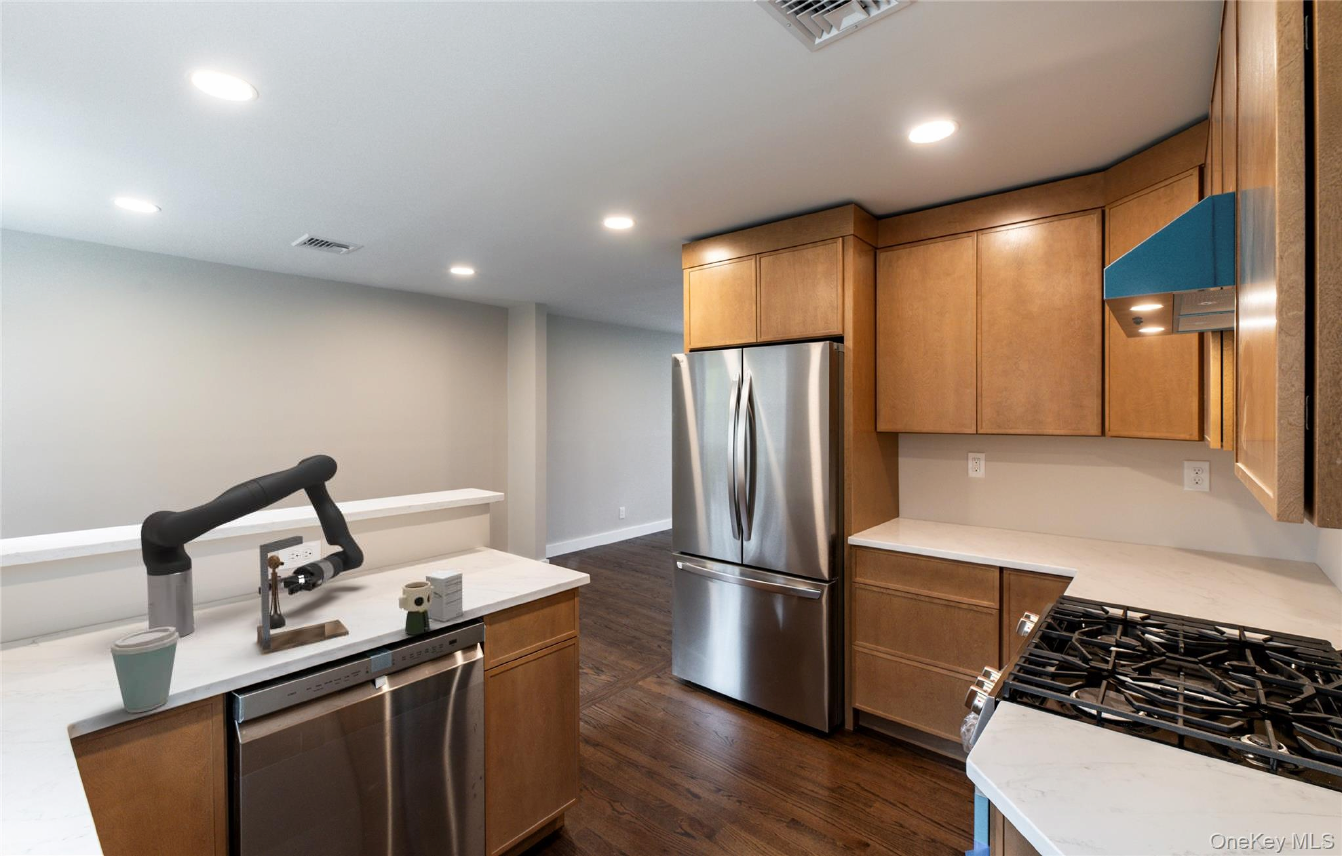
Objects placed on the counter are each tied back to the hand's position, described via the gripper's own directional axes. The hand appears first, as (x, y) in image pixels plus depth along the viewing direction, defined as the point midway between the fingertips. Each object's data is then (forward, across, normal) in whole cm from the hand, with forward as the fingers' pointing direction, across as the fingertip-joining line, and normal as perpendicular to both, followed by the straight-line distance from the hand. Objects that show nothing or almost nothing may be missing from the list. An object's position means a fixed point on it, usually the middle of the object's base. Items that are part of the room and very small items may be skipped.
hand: (274, 591), depth 164 cm
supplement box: (-11, +43, +10) cm, 46 cm away
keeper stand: (+7, +13, +10) cm, 18 cm away
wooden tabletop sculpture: (0, 0, +10) cm, 10 cm away
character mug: (+1, +41, +10) cm, 42 cm away
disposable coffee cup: (+42, +4, +10) cm, 43 cm away
